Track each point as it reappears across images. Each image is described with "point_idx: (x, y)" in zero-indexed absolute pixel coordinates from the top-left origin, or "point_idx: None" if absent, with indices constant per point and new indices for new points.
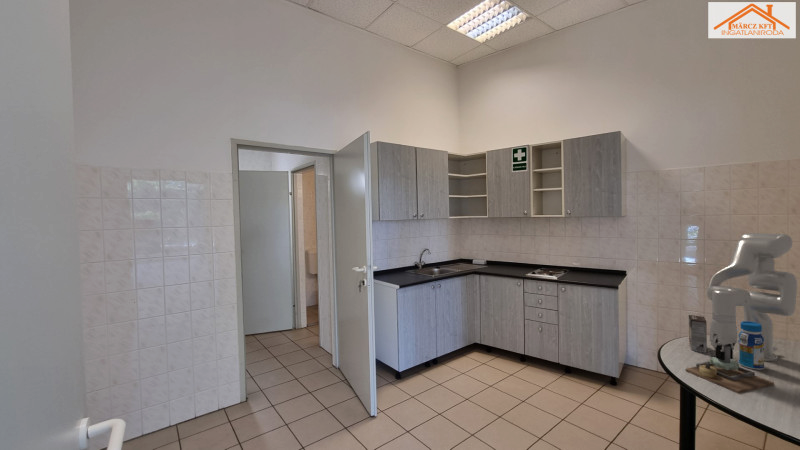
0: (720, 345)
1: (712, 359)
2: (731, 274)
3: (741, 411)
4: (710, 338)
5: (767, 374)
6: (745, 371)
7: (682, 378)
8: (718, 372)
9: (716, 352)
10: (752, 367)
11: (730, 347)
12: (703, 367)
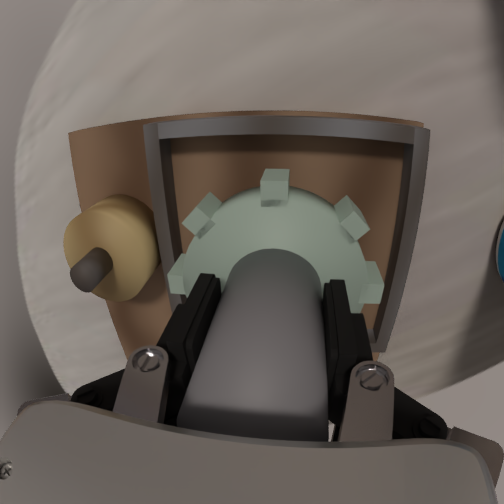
0: (202, 422)
1: (201, 230)
2: None
3: (70, 388)
4: (5, 450)
5: (476, 321)
6: (380, 312)
7: (19, 201)
8: (167, 279)
9: (162, 334)
10: (499, 271)
11: (334, 434)
12: (80, 245)
